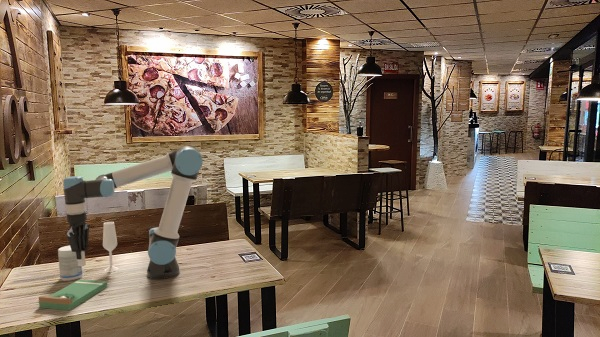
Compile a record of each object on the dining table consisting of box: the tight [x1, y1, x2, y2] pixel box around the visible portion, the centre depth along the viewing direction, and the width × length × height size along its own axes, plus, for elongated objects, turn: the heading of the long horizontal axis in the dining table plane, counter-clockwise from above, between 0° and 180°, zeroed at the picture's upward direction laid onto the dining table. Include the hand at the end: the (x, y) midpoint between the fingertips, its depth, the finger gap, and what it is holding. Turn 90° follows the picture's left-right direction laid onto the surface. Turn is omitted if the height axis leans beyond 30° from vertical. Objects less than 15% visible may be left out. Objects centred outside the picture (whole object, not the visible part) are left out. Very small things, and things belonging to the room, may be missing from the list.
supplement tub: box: [57, 245, 83, 282], centre depth 207 cm, size 10×10×15 cm
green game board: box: [38, 278, 108, 311], centre depth 186 cm, size 14×24×4 cm, turn 169°
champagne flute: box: [102, 221, 120, 273], centre depth 217 cm, size 7×7×24 cm
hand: (81, 265), depth 189 cm, fingers closed
